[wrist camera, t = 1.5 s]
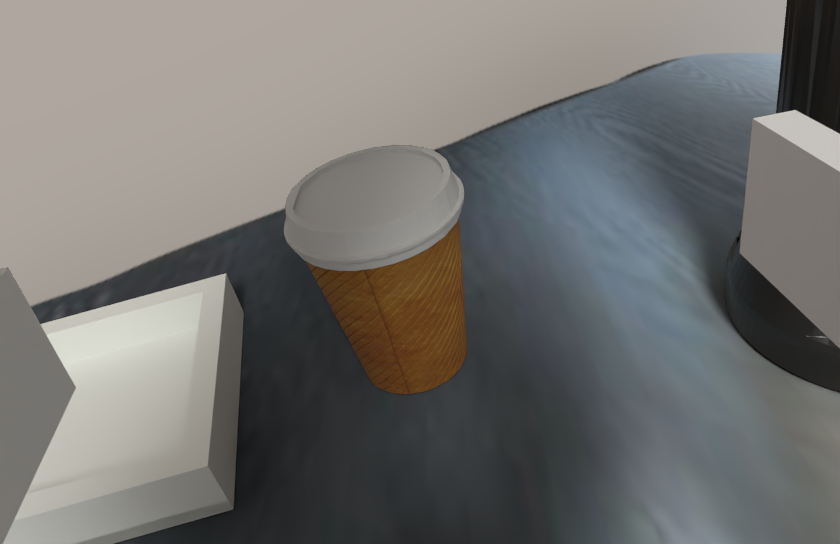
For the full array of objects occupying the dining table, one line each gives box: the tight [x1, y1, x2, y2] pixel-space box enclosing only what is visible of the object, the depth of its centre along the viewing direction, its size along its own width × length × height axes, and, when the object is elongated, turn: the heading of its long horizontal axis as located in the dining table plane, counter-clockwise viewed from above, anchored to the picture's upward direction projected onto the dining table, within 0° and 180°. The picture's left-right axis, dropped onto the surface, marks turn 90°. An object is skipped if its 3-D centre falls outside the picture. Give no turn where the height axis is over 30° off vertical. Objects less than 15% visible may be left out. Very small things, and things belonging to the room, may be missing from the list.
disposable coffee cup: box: [284, 145, 466, 394], centre depth 38 cm, size 10×10×12 cm
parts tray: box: [3, 274, 244, 544], centre depth 41 cm, size 22×17×4 cm
